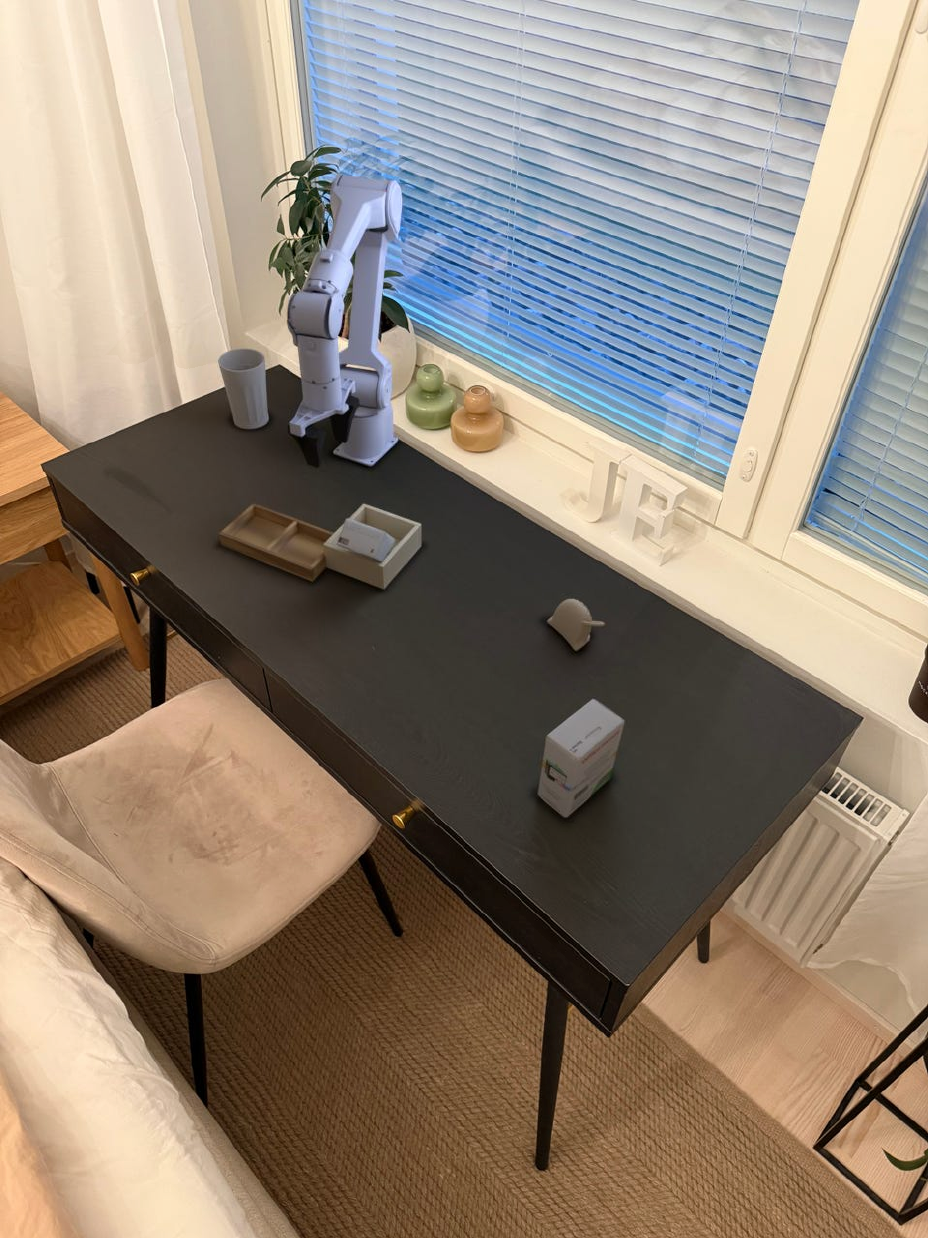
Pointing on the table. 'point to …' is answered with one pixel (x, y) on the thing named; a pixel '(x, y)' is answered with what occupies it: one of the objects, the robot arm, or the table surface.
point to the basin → (368, 569)
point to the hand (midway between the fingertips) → (327, 452)
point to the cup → (245, 386)
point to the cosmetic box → (365, 540)
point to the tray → (278, 541)
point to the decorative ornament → (573, 622)
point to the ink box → (579, 757)
